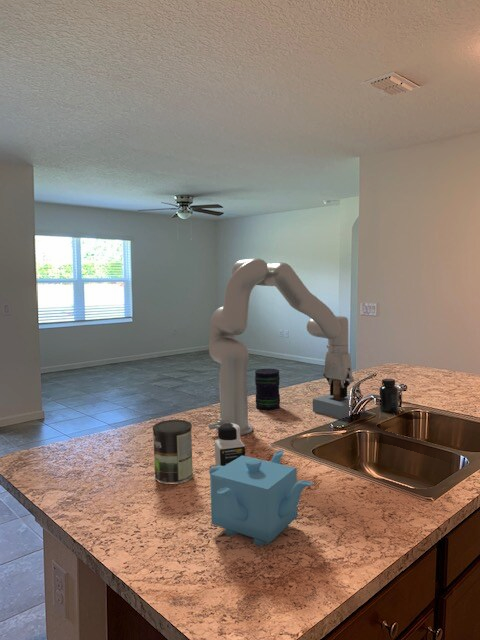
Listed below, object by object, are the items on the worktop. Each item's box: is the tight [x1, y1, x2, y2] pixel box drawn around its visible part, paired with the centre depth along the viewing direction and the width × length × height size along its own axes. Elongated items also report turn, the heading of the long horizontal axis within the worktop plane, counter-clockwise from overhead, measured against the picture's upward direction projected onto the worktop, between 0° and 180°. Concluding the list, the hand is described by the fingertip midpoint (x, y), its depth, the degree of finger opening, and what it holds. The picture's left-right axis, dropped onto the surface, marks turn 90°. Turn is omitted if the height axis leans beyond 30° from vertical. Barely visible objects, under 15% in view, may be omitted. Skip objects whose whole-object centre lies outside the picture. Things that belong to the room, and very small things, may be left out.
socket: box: [312, 393, 366, 420], centre depth 181 cm, size 14×14×5 cm
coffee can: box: [152, 419, 194, 484], centre depth 125 cm, size 10×10×14 cm
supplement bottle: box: [379, 378, 399, 413], centre depth 180 cm, size 7×7×12 cm
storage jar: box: [254, 368, 281, 412], centre depth 188 cm, size 10×10×15 cm
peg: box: [333, 379, 344, 402], centre depth 180 cm, size 4×4×12 cm
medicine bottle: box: [214, 423, 246, 466], centre depth 131 cm, size 7×7×12 cm
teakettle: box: [209, 449, 314, 547], centre depth 98 cm, size 19×19×15 cm
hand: (338, 395), depth 180 cm, fingers open, 4 cm apart
